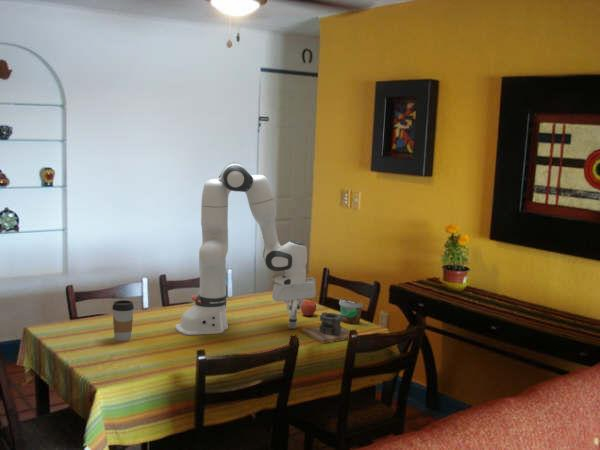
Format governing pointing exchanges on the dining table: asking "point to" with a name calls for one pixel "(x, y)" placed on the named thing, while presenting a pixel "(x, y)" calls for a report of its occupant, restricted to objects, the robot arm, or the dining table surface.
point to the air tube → (293, 314)
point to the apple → (308, 308)
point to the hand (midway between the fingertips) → (293, 309)
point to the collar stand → (328, 329)
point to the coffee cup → (122, 319)
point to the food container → (350, 311)
